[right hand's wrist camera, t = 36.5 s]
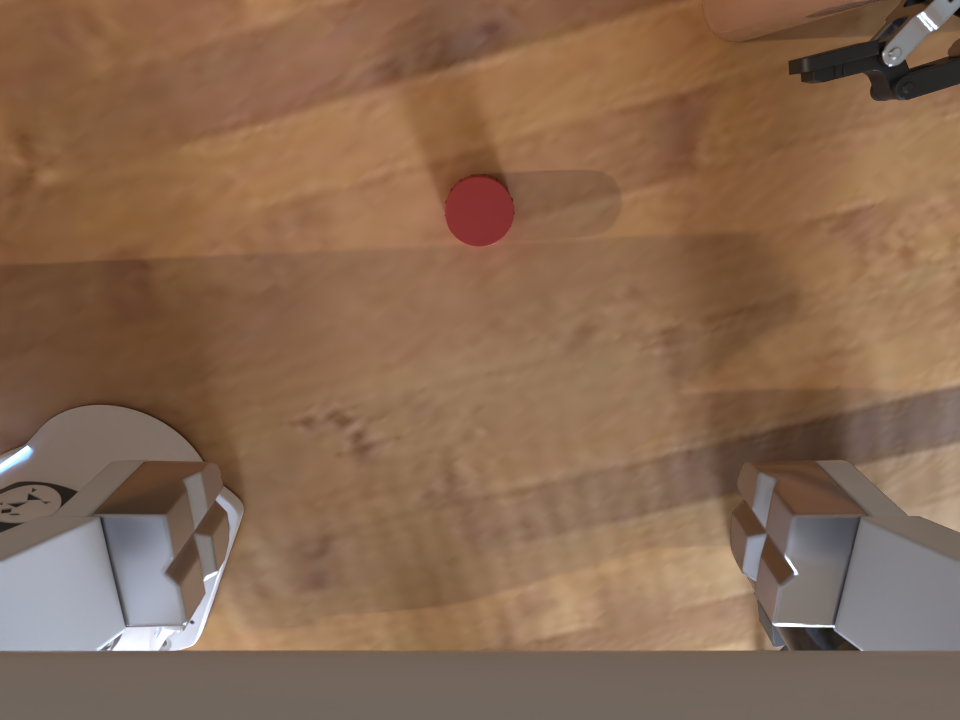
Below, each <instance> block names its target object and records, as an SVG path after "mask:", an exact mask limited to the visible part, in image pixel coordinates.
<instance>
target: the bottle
mask: <svg viewBox="0 0 960 720" xmlns="http://www.w3.org/2000/svg"><path fill="white" fill-rule="evenodd" d="M882 1H886V0H703V10H704V16H705V19H706V21H707V24H708V26H709V27H710V29H711V30H712V31H713V32H714V33H715V34H716V35H717V36H718V37H720V38H722V39H724V40H726V41H730V42H743V41H747V40H751V39H754V38H758V37H761V36H765V35H768V34H771V33H775V32H778V31H782V30H785V29H789V28H792V27H796V26H799V25H803V24H806V23H809V22H813V21H816V20H820V19H823V18H827V17H830V16H834V15H837V14H841V13H844V12H847V11H851V10H854V9H858V8H861V7H865V6H868V5H872V4H875V3H879V2H882Z"/></svg>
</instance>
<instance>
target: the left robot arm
mask: <svg viewBox="0 0 960 720" xmlns="http://www.w3.org/2000/svg"><path fill="white" fill-rule="evenodd" d="M952 15H955V16H957V17H959V18H960V0H902V2H901V3H900V4H899V5H898V6H897V7H896V8H895V9H894V10H893V11H892V12H891V13H890V15H889V16H888V17H887V18H886V23H885V25H884V26H883V27H882V28H881V29H880V30H879V31H878V32H877V33H876V34H875V35H874V37H873V38H872V39H871V40H870V41H868V42H863V43H858V44H854V45H850V46H846V47H842V48H838V49H834V50H830V51H826V52H822V53H818V54H814V55H811V56H807V57H803V58H799V59H795V60H791V61H788V62H789V75H792V74H799V73H801V82H806V83H820V82H826V81H830V80H834V79H838V78H842V77H846V76H850V75H854V74H858V73H865V74H866V75H867V76H868V77H869V79H870V81H871V84H872V86H871V89H870V94H871V97H872V98H873V99H874V100H876V101H886V100H892V99H897V100H908V99H912V98H915V97H918V96H922V95H925V94H928V93H931V92H934V91H938V90H941V89H944V88H947V87H951V86H954V85H957V84H960V39H958V40H956V41H955V42H954V43H953V45H952V46H951V47H950V48H949V50H948V55H949V56H948V57H945V58H942V59H939V60H936V61H932V62H929V63H926V64H923V65H920V66H916V67H913V68H910V69H909V68H908V65H907V63H906V60H905V58H906V57H907V56H908V55H909V54H910V53H911V52H912V51H913V50H914V49H915V48H916V47H917V46H918V45H919V44H920V43H921V42H922V41H923V39H924V38H925V37H926V36H927V35H928V34H930V33H931V32H932V31H934V30H936V29H938V28H939V27H940V26H942V25H943V24H944V23H945V22H946V21H947V20H948V19H949V18H950V17H951V16H952ZM730 543H731V538H730ZM731 550H732V543H731ZM732 553H733V550H732ZM733 556H734V553H733ZM734 558H735V557H734ZM747 578H748V580H749V581H750V583H751V585H752V587H753V588H754V590H755V586H756V581H754V580H753V579H751V578H750V577H748V576H747ZM757 602H758V611H759V619H760V622H761V624H762V626H763V628H764V629H765V631H766V633H767V635H768V637H769V638H770V640H771V642H772V644H773V646H774V647H780V646H784V647H783V648H782V649H781V650H780V651H861V650H860V649H858V648H857V647H856V646H854V645H853V644H852V643H850V642H849V641H848V640H846V639H845V638H844V637H842V636H841V635H840V634H838V633H837V632H836V631H834V627H799V626H773V624H772V623H771V621H770V619H769V618H768V616H767V614H766V613H765V611H764V609H763V607H762V606H761V604H760V602H759V601H758V599H757Z"/></svg>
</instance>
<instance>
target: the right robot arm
mask: <svg viewBox="0 0 960 720" xmlns="http://www.w3.org/2000/svg"><path fill="white" fill-rule="evenodd" d="M737 489H738V491H739V492H740V494H741V495H742V497H743V498H744V501H743V502H742V503H741V504H740V505H739V506H738V507H737V508H736V509H735V510H734V511H733V513H732V521H731V530H730V533H731V543H732V550H733V553H734V557H735V560H736V562H737V564H738V566H739V568H740V570H741V571H742V573H743V574H745V575H746V576H748V577H750V578H751V579H753V580H754V581H756V586H755V592H754V594H755V596H756V597H757V599H758V601H759V602H760V604H761V606H762V607H763V609H764V611H765V613H766V614H767V616H768V618H769V619H770V621H771V623H772V624H773V626H799V627H834V631H836V632H837V633H838V634H840V635H841V636H842V637H844V638H845V639H846V640H848V641H849V642H850V643H852V644H853V645H854V646H856V647H857V648H858V649H860V650H861V651H176V650H180V649H184V648H187V647H190V646H192V645H194V644H195V643H196V641H197V640H198V638H199V637H200V635H201V633H202V631H203V628H204V626H205V623H206V620H207V617H208V614H209V611H210V608H211V606H212V603H213V600H214V597H215V594H216V591H217V588H218V585H219V582H220V580H221V577H222V574H223V571H224V568H225V565H226V562H227V559H228V557H229V554H230V551H231V548H232V545H233V542H234V539H235V536H236V533H237V531H238V528H239V525H240V522H241V519H242V516H243V513H244V506H243V504H242V502H241V501H240V499H239V498H238V497H237V496H236V495H235V494H233V493H232V492H231V491H230V490H229V489H227V488H226V487H225V486H223V482H222V477H221V472H220V468H219V467H218V466H217V465H216V464H215V462H203V460H202V459H201V457H200V456H199V455H198V453H197V452H196V451H195V449H194V448H193V447H192V446H191V445H190V444H189V443H188V442H187V441H186V440H185V439H184V438H183V437H182V436H181V435H180V434H179V433H177V432H176V431H175V430H173V429H172V428H171V427H169V426H168V425H166V424H165V423H163V422H161V421H159V420H158V419H156V418H154V417H151V416H149V415H147V414H144V413H142V412H139V411H136V410H133V409H129V408H125V407H119V406H112V405H89V406H82V407H77V408H73V409H70V410H67V411H65V412H62V413H60V414H58V415H57V416H55V417H53V418H52V419H50V420H49V421H47V422H46V423H45V424H44V425H43V426H42V427H41V428H40V429H39V430H38V431H37V432H36V433H35V435H34V436H33V437H32V438H31V439H30V440H29V441H28V442H27V443H26V444H25V445H24V446H21V447H19V448H16V449H13V450H11V451H8V452H6V453H4V454H2V455H0V720H960V533H959V532H957V531H954V530H952V529H949V528H947V527H944V526H942V525H939V524H937V523H934V522H932V521H930V520H927V519H925V518H922V517H920V516H908V515H907V514H906V513H905V512H903V511H902V510H901V509H900V508H899V507H898V506H897V505H896V504H895V503H894V502H893V501H891V500H890V499H889V498H888V497H887V496H886V495H885V494H884V493H883V492H882V491H880V490H879V489H878V488H877V487H876V486H875V485H874V484H873V483H872V482H871V481H870V480H868V479H867V478H866V477H865V476H864V475H863V474H862V473H861V472H860V471H859V470H858V469H856V468H855V467H854V466H853V465H852V464H851V463H850V462H847V461H844V460H824V461H814V460H813V461H772V462H748V463H743V465H742V467H741V470H740V472H739V476H738V482H737Z"/></svg>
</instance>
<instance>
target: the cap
mask: <svg viewBox="0 0 960 720" xmlns="http://www.w3.org/2000/svg"><path fill="white" fill-rule="evenodd" d="M445 203H446V207H445V216H446V221H447V224H448V227H449V229H450V230H451V232H452V233H453V234H454V236H455V237H456V238H458V239H459V240H460V241H462V242H463V243H465V244H468V245H471V246H477V247H482V246H488V245H491V244H494V243H496V242H497V241H499V240H500V239H501V238H503V237H504V236H505V235H506V233H507V232H508V230H509V229H510V227H511V224H512V221H513V216H514V207H513V199H512V198H511V196H510V194H509V192H508V190H507V187H505V186H504V185H503V184H502V183H501V182H500V181H498V179H497V178H496V179H495V178H493V177H491V176H487V175H486V174H484V175H473V174H472V175H471V176H468V177H466V178H464V179H462V180H460V181H459V182H458V183H457V184H456V185H455V186H454V187H453V189H451V192H450V194H449V196H448V199H447V200H446V202H445Z"/></svg>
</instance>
